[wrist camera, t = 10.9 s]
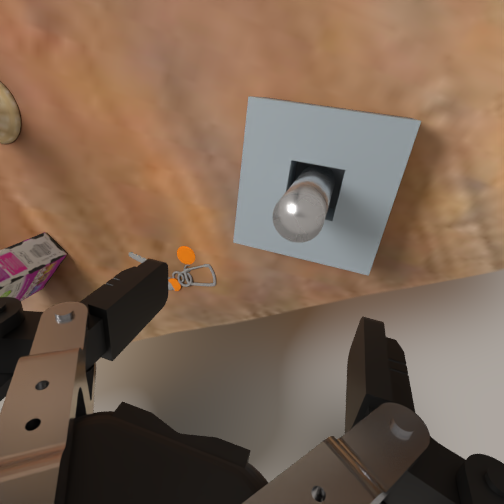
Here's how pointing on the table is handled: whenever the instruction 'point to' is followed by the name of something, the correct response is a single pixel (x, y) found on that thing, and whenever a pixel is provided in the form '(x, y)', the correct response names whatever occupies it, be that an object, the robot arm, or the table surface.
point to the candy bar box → (28, 266)
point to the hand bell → (8, 116)
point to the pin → (304, 205)
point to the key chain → (187, 258)
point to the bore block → (338, 161)
